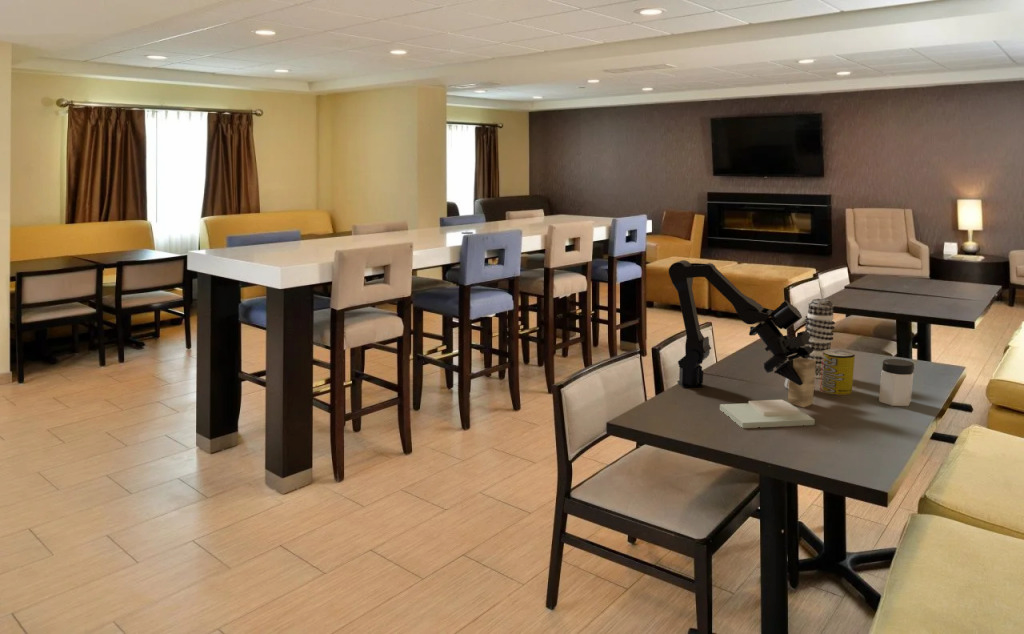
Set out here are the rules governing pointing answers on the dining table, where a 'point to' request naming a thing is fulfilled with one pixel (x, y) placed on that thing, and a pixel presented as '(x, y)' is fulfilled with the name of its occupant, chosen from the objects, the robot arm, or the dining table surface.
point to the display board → (766, 414)
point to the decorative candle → (819, 330)
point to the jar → (896, 382)
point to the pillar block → (804, 392)
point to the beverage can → (837, 371)
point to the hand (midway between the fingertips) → (806, 382)
